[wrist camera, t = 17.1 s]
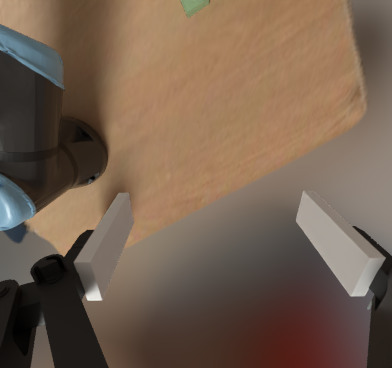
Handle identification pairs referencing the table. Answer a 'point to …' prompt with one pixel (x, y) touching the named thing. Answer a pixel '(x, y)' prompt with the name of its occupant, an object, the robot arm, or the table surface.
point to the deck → (193, 6)
